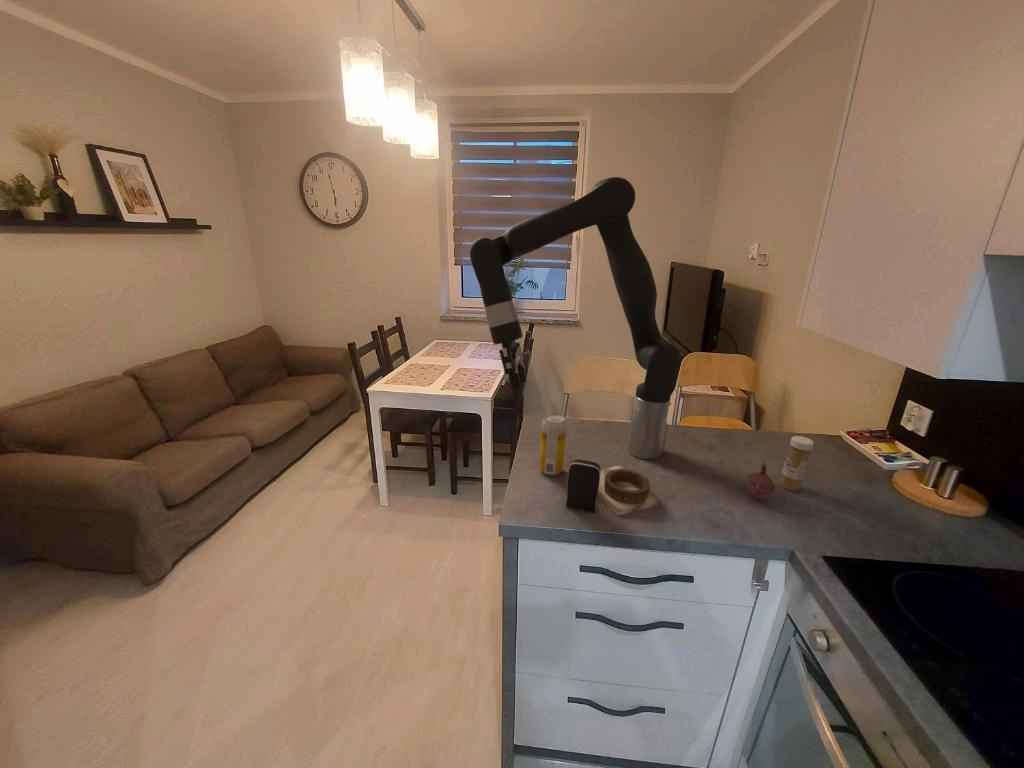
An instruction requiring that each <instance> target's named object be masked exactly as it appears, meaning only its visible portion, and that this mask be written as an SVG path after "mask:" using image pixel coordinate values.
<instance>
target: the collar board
mask: <svg viewBox="0 0 1024 768" xmlns="http://www.w3.org/2000/svg"><path fill="white" fill-rule="evenodd" d="M650 488H651V485H650V481H649V479H648V478H647V477H646V476H644V475H643V474H642V473H640V472H637V471H634V470H630V469H625V468H624V467H623V466H621V465H620V464H619V465H615V466H610V467H604V468H601V473H600V483H599V490H598V495H597V497H599V498H600V500H601V501H603V502H604V504H606V505H607V506H608V507H609V508H610V510H612V511H613V512H614V514H616V515H617V516H622V515H625V514H630V513H633V512H638V511H640V510H646V509H649V508H653V507H657V506H661V504H662V498H660V496H658V495H657V494H656V493H655V492H654V491H652V490H651V489H650Z"/></svg>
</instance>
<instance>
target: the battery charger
mask: <svg viewBox="0 0 1024 768" xmlns="http://www.w3.org/2000/svg"><path fill="white" fill-rule="evenodd" d="M601 469H602V468H601V466H600V464H599V463H597V462H594V461H589V460H585V459H579V458H575V459H574V460H572V462H571V463H570V465H569V467H568V474H567V482H566V483H567V485H566V488H567V489H566V491H567V492H566V503H565V506H566V507H569V508H571V509H576V510H580V511H585V512H589V513H595V512H596V509H597V500H598V490H599V483H600V473H601Z"/></svg>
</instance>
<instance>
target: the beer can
mask: <svg viewBox="0 0 1024 768" xmlns="http://www.w3.org/2000/svg"><path fill="white" fill-rule="evenodd" d="M541 425H542V426H541V436H540V439H541V440H540V453H539V455H540V456H539V469H540V471H541V472H542V473H543V474H544V475H547V476H558V475H559V474H560V473H561V472H562V471H563V468H564V458H565V446H566V434H567V422H566V418H565V417H564V416H562V415H560V414H548V415H547V414H546V415H545V416H544V418H543V420H542V423H541Z"/></svg>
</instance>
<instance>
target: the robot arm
mask: <svg viewBox="0 0 1024 768" xmlns="http://www.w3.org/2000/svg"><path fill="white" fill-rule="evenodd" d="M635 203H636V191H635V189H634V186H633V185H632V183H631V182H630V181H629V180H628V179H626V178H623V177H621V176H620V177H619V176H612V177H608V178H604V179H601V180H600V181H597V182H596V183H595V184H594V185H593V186H592V187H591V189H590V191H589V192H588V193H587V194H585V195H583V196H582V197H580V198H578V199H576V200H574V201H572V202H570V203H568V204H566V205H562V206H560V207H557V208H555V209H552V210H548V211H546V212H544V213H543V212H542V213H541V214H538V215H537V214H536V215H535V216H533V217H530V218H528V219H525V220H524V221H521V222H519V223H517V224H515V225H512V226H511V227H509V228H508V229H507V230H506V231H505V232H504V233H502V234H500V235H498V236H496V237H494V238H490V237H486V236H483V237H479V238H476V239H475V240H474V241H473V243H472V244H471V246H470V249H469V258H470V262H471V266H472V269H473V271H474V274H475V277H476V279H477V282H478V284H479V290H480V293H481V298H482V301H483V305H484V309H485V317H486V320H487V324H488V329H489V333H490V336H491V340H492V343H493V345H501V347H502V348H501V349H499V351H498V352H499V354H500V360H501V363H502V367H503V372H504V374H505V375H507V376H508V378H509V379H508V380H509V384H510V386H511V390H513V391H517V390H520V389H521V388H522V384H521V383H525V382H526V381H527V380H528V379H527V376H526V373H525V372H526V371H525V369H524V367H525V359H524V356H523V352H522V348H521V344H520V341H516V340H519V339H521V338H523V332H522V327H521V323H520V320H519V315H518V311H517V308H516V306H515V304H514V301H513V297H512V291H511V289H510V286H509V282H508V280H507V278H506V275H505V269H504V267H503V266H505V265H506V264H509V263H510V262H512V261H514V260H516V259H517V258H519V257H522V256H525V255H527V254H530V253H532V252H534V251H536V250H539V249H540V248H542V247H545V246H548V245H549V244H552V243H554V242H556V241H558V240H560V239H562V238H564V237H566V236H568V235H572V234H574V233H577V232H579V231H581V230H584V229H587V228H590V227H593V226H596V228H597V230H598V232H599V234H600V238H601V239H602V242H603V245H604V248H605V252H606V256H607V260H608V261H607V262H608V264H609V265H608V266H609V268H610V272H611V275H612V279H613V282H614V285H615V289H616V292H617V295H618V298H619V300H620V303H621V306H622V309H623V313H624V316H625V318H626V321H627V324H628V327H629V330H630V334H631V339H632V343H633V349H634V354H635V358H636V361H637V362H638V364H639V367H640V368H642V369H644V370H646V373H645V377H644V382H641V383H639V384H637V386H636V389H635V395H634V402H633V410H632V417H631V424H630V431H629V435H628V436H629V438H628V443H627V451H628V453H630V455H632V456H633V457H635V458H639V459H642V460H656V459H658V458H660V457H661V456H662V455H664V452H665V447H666V442H667V435H668V430H669V424H668V422H667V419H668V413H669V407H670V401H671V396H672V395H673V393H674V391H675V389H676V388H677V387H676V386H677V383H678V379H679V374H680V370H681V365H682V354H681V351H680V349H679V348H678V346H676V345H675V344H672V343H670V342H668V341H666V340H664V338H663V337H662V334H661V332H660V328H659V325H658V323H657V319H656V309H657V308H656V307H657V299H658V291H657V286H656V285H657V284H656V282H655V277H654V275H653V271H652V268H651V265H650V263H649V260H648V259H647V257H646V255H645V253H644V251H643V250H642V247H641V246H640V245H639V243H638V240H637V239H636V237H635V235H634V233H633V230H632V226H631V222H630V219H629V218H630V217H629V213H630V212H631V210H632V209H633V207H634V204H635Z"/></svg>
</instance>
